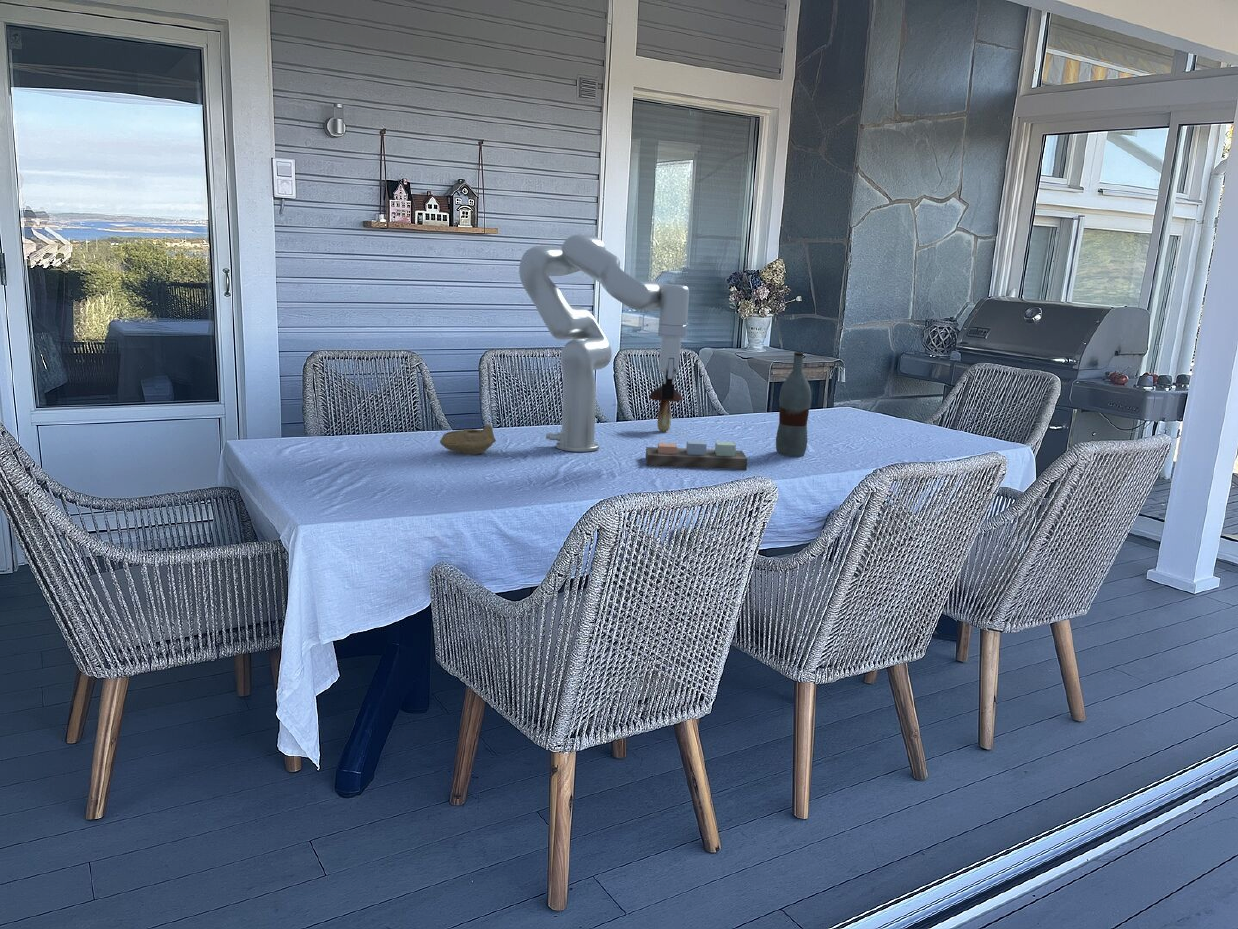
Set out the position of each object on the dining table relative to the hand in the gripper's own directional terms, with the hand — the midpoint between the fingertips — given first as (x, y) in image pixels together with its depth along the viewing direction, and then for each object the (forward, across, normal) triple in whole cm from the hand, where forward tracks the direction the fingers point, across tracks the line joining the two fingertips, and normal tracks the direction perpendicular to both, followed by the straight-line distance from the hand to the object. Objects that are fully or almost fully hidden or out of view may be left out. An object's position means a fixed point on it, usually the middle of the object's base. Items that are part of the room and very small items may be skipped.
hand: (667, 398), depth 264 cm
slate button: (+16, +1, +9) cm, 18 cm away
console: (+18, +1, +9) cm, 20 cm away
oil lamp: (+19, 0, -54) cm, 57 cm away
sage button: (+16, +1, +17) cm, 23 cm away
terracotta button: (+17, +1, +1) cm, 17 cm away
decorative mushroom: (+18, -46, +3) cm, 50 cm away
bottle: (+17, -18, +39) cm, 46 cm away
